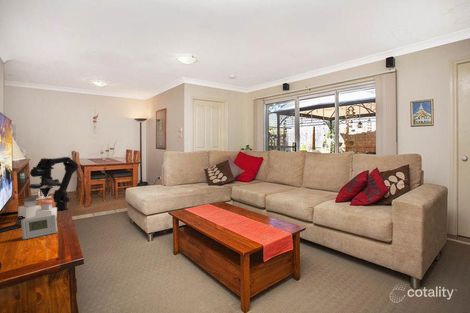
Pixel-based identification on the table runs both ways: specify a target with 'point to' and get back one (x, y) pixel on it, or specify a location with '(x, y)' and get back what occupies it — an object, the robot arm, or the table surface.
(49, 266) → the table surface
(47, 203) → the red plug
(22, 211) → the socket
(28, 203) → the plug
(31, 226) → the digital clock
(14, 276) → the table surface
